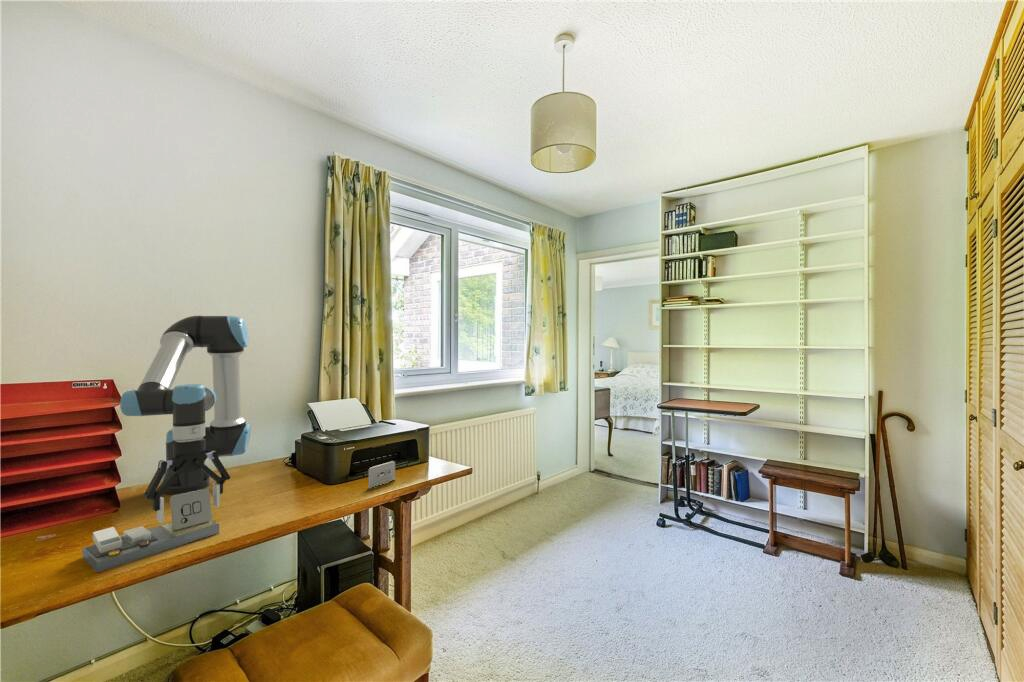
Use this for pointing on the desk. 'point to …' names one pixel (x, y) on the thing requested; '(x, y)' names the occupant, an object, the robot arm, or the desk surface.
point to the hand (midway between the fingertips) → (189, 513)
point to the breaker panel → (146, 544)
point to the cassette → (380, 479)
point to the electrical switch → (190, 508)
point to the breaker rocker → (107, 539)
